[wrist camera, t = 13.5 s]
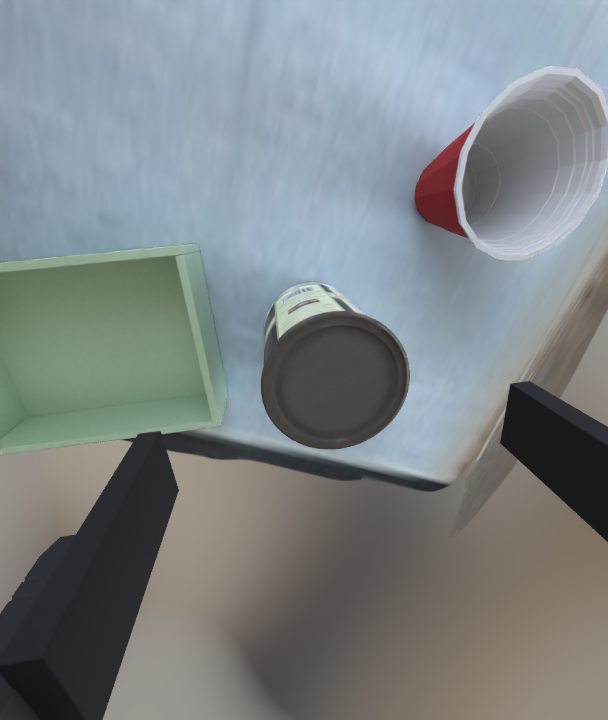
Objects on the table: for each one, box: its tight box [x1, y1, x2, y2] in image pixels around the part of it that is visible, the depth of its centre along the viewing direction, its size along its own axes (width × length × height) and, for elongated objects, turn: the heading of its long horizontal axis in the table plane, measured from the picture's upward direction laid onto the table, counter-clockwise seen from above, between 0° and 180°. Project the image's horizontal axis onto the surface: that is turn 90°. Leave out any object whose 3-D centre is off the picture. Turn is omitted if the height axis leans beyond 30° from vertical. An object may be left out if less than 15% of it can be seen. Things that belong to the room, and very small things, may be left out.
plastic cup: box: [415, 66, 608, 260], centre depth 26 cm, size 11×11×12 cm
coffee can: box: [261, 282, 410, 449], centre depth 29 cm, size 10×10×14 cm
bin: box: [0, 243, 229, 455], centre depth 30 cm, size 16×22×6 cm
